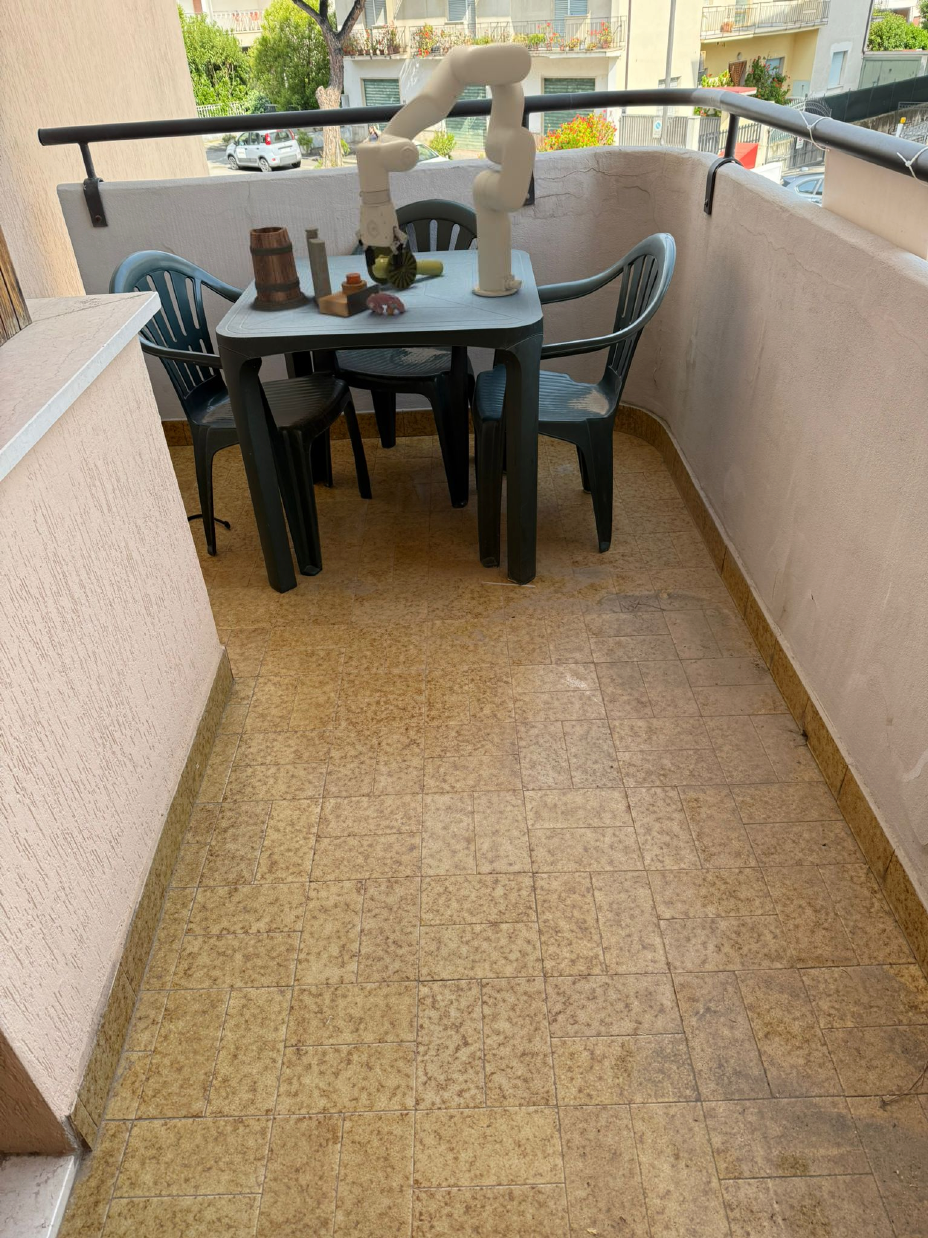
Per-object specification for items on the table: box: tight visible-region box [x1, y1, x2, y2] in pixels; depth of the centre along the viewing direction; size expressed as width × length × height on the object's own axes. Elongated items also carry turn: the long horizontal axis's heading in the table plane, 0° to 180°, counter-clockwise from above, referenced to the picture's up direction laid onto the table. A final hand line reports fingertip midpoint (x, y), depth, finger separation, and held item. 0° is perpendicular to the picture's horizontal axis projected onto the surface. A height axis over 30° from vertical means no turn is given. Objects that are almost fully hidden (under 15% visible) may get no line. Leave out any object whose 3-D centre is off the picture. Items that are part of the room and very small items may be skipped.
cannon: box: [366, 246, 444, 291], centre depth 254 cm, size 25×12×11 cm, turn 129°
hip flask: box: [304, 226, 333, 306], centre depth 239 cm, size 16×4×20 cm, turn 17°
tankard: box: [249, 225, 310, 312], centre depth 243 cm, size 24×17×20 cm
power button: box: [345, 272, 362, 285], centre depth 237 cm, size 4×4×2 cm
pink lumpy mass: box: [366, 292, 406, 315], centre depth 230 cm, size 10×5×7 cm, turn 73°
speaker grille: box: [346, 283, 380, 316], centre depth 234 cm, size 1×13×5 cm, turn 144°
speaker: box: [318, 279, 381, 318], centre depth 236 cm, size 10×15×6 cm, turn 144°
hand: (384, 267), depth 225 cm, fingers open, 9 cm apart
